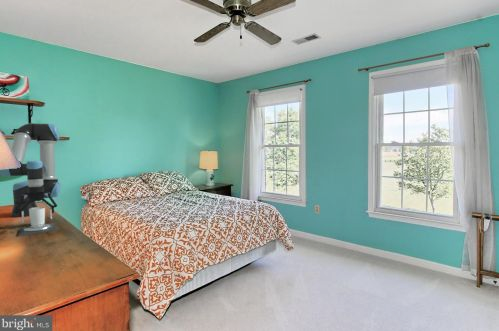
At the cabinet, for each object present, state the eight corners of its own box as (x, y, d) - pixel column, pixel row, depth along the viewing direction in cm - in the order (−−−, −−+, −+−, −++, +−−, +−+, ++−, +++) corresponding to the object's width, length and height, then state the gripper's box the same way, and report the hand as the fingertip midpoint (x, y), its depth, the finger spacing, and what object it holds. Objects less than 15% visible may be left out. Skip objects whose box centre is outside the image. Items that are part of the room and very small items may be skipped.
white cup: (27, 225, 164) (26, 208, 163) (41, 221, 171) (41, 206, 170) (33, 226, 160) (32, 210, 160) (48, 223, 167) (47, 207, 167)
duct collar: (20, 229, 155) (20, 226, 154) (54, 224, 164) (54, 221, 164) (18, 236, 144) (18, 232, 143) (55, 230, 153) (55, 227, 153)
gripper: (7, 188, 153) (10, 225, 155) (61, 184, 169) (62, 218, 170) (8, 187, 159) (11, 222, 161) (60, 183, 175) (61, 215, 176)
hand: (37, 220), depth 165 cm, fingers open, 13 cm apart
